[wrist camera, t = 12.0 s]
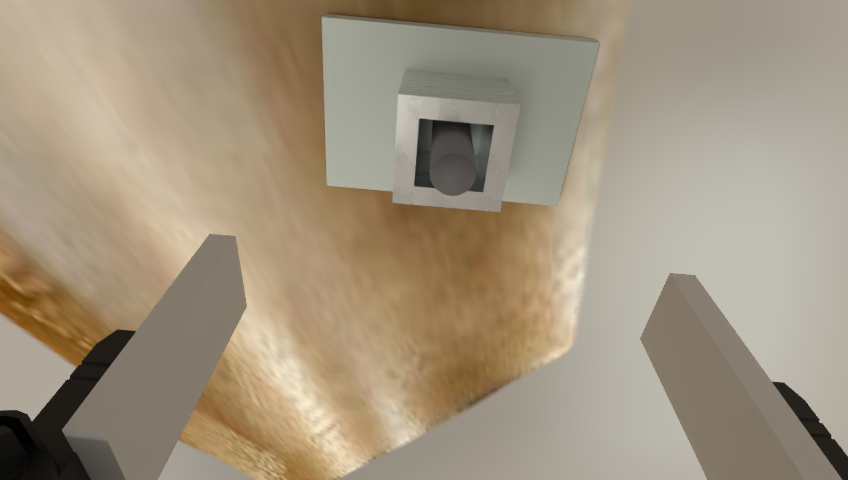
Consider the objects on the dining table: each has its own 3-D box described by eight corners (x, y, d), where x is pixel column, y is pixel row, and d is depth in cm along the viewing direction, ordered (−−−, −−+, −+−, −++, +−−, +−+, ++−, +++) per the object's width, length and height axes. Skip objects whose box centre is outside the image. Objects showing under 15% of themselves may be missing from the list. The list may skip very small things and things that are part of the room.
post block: (326, 13, 32) (274, 49, 22) (594, 38, 32) (659, 85, 22) (330, 177, 38) (291, 261, 29) (553, 197, 39) (590, 286, 29)
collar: (405, 68, 32) (397, 93, 27) (508, 78, 32) (520, 105, 27) (399, 164, 36) (392, 202, 31) (492, 173, 36) (500, 212, 31)
